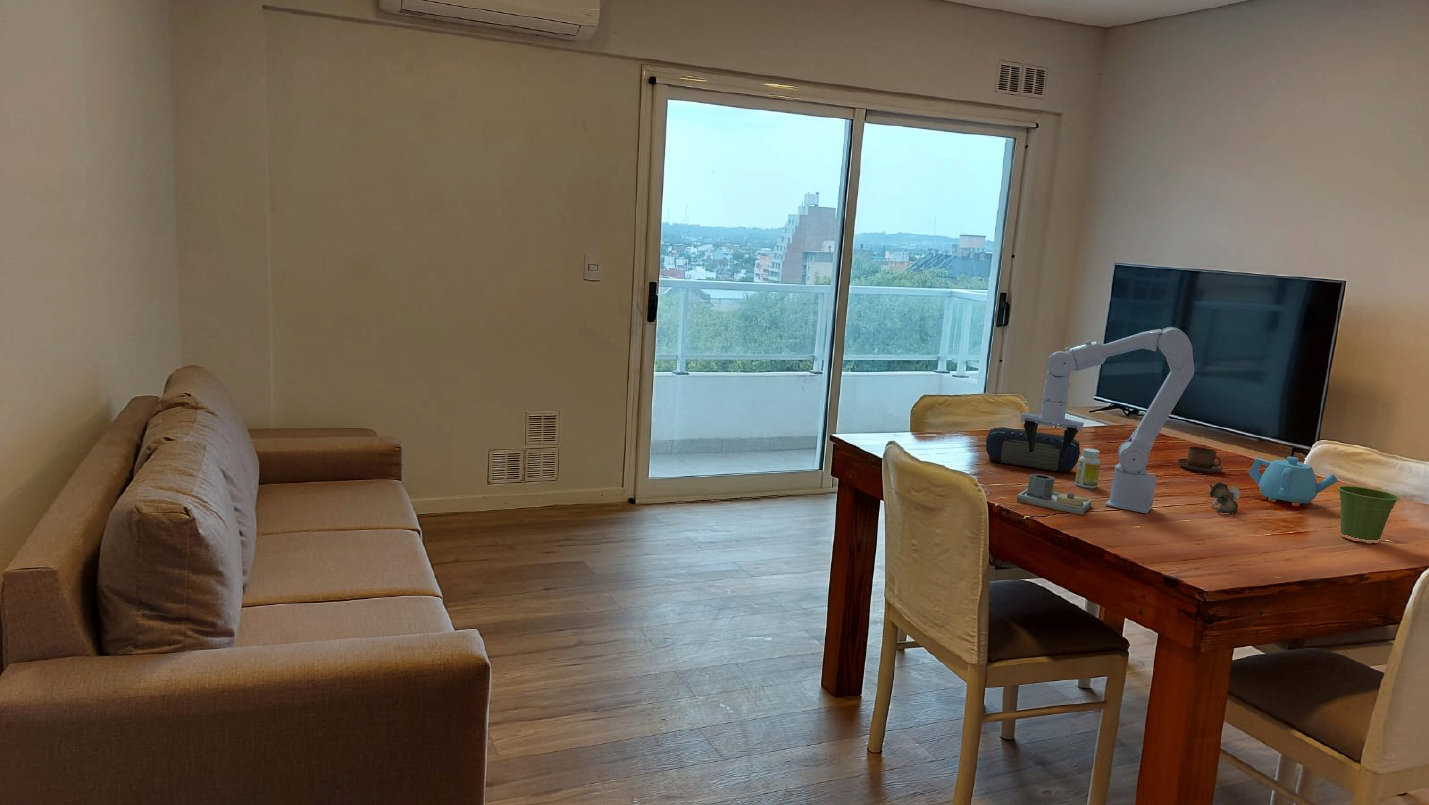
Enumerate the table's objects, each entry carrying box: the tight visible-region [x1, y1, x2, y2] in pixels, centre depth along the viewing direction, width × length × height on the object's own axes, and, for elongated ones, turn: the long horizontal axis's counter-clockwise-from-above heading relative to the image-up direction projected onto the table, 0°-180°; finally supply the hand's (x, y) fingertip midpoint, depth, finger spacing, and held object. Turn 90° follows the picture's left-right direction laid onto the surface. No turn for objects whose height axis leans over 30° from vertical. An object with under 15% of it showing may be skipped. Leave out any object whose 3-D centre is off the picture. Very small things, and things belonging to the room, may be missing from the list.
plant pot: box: [1336, 485, 1401, 540], centre depth 221 cm, size 12×12×11 cm
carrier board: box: [1016, 487, 1093, 516], centre depth 232 cm, size 15×10×3 cm, turn 58°
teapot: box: [1247, 456, 1339, 504], centre depth 252 cm, size 20×17×12 cm
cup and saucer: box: [1177, 446, 1224, 473], centre depth 284 cm, size 12×12×6 cm
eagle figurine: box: [1208, 481, 1241, 515], centre depth 239 cm, size 8×8×10 cm
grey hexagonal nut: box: [1027, 473, 1056, 500], centre depth 233 cm, size 6×6×5 cm
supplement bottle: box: [1074, 447, 1102, 489], centre depth 252 cm, size 5×5×10 cm
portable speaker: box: [985, 426, 1081, 473], centre depth 271 cm, size 25×10×10 cm, turn 68°
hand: (1047, 454), depth 240 cm, fingers open, 7 cm apart
